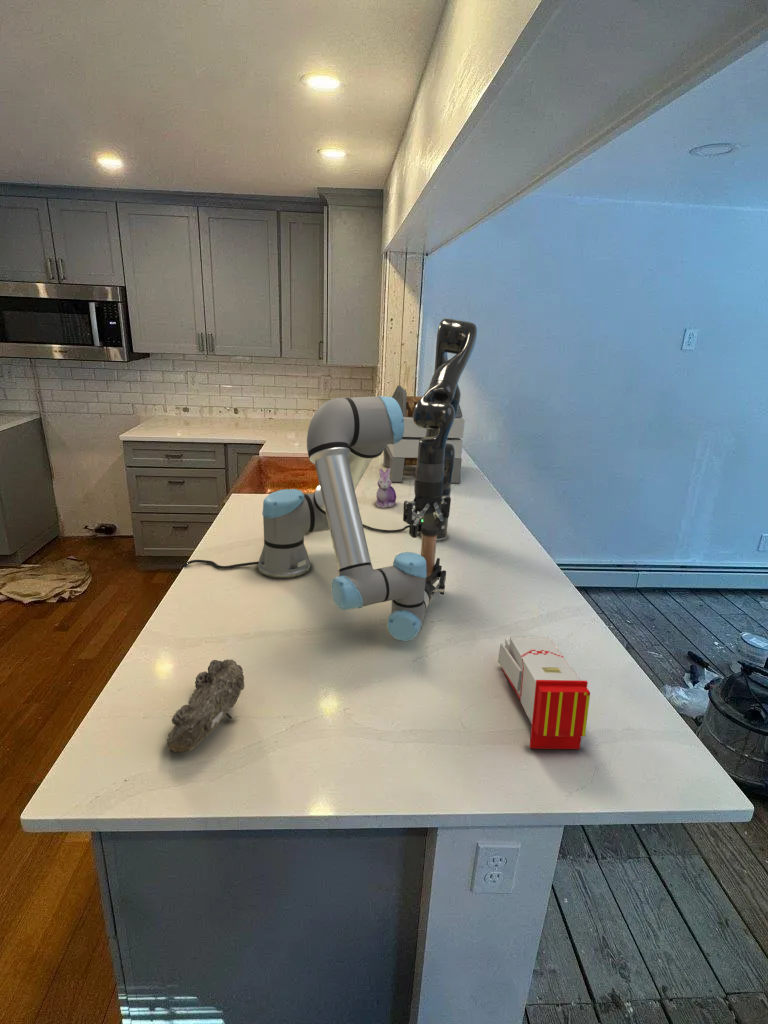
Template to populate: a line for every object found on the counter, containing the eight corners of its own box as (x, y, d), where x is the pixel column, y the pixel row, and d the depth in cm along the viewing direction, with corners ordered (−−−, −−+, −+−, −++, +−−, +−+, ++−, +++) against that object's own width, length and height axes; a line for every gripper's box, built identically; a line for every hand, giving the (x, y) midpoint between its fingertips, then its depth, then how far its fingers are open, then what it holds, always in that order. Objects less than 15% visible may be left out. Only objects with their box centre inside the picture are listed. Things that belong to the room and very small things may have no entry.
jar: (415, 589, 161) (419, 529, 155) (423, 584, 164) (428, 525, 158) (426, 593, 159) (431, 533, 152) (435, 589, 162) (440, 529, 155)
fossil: (192, 660, 117) (244, 628, 112) (224, 691, 120) (276, 661, 115) (142, 746, 98) (202, 712, 93) (182, 779, 101) (242, 748, 96)
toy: (546, 620, 128) (599, 688, 99) (541, 675, 131) (591, 756, 102) (493, 619, 128) (531, 687, 99) (489, 674, 131) (524, 755, 101)
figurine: (380, 509, 222) (382, 473, 217) (369, 501, 231) (370, 466, 226) (401, 507, 226) (404, 470, 221) (389, 499, 235) (391, 464, 230)
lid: (435, 536, 153) (435, 531, 152) (418, 533, 154) (418, 528, 154) (440, 531, 157) (440, 525, 156) (424, 528, 158) (424, 522, 158)
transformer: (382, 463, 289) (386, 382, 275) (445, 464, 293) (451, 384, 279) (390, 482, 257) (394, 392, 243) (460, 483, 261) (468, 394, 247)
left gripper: (381, 606, 146) (400, 568, 167) (447, 616, 142) (458, 577, 164) (382, 580, 143) (401, 545, 165) (449, 590, 140) (460, 553, 161)
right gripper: (443, 471, 157) (438, 526, 162) (399, 476, 150) (395, 534, 155) (459, 478, 151) (454, 535, 156) (414, 484, 144) (410, 543, 149)
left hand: (429, 561), depth 164 cm, fingers closed on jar, 4 cm apart
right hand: (425, 534), depth 156 cm, fingers open, 7 cm apart
